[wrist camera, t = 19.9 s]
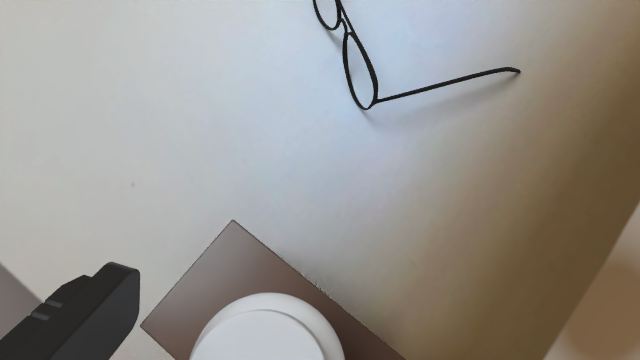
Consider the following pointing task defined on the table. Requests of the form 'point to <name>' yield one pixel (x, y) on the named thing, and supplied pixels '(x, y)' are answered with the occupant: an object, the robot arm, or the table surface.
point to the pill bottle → (268, 331)
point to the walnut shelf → (243, 280)
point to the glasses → (370, 67)
